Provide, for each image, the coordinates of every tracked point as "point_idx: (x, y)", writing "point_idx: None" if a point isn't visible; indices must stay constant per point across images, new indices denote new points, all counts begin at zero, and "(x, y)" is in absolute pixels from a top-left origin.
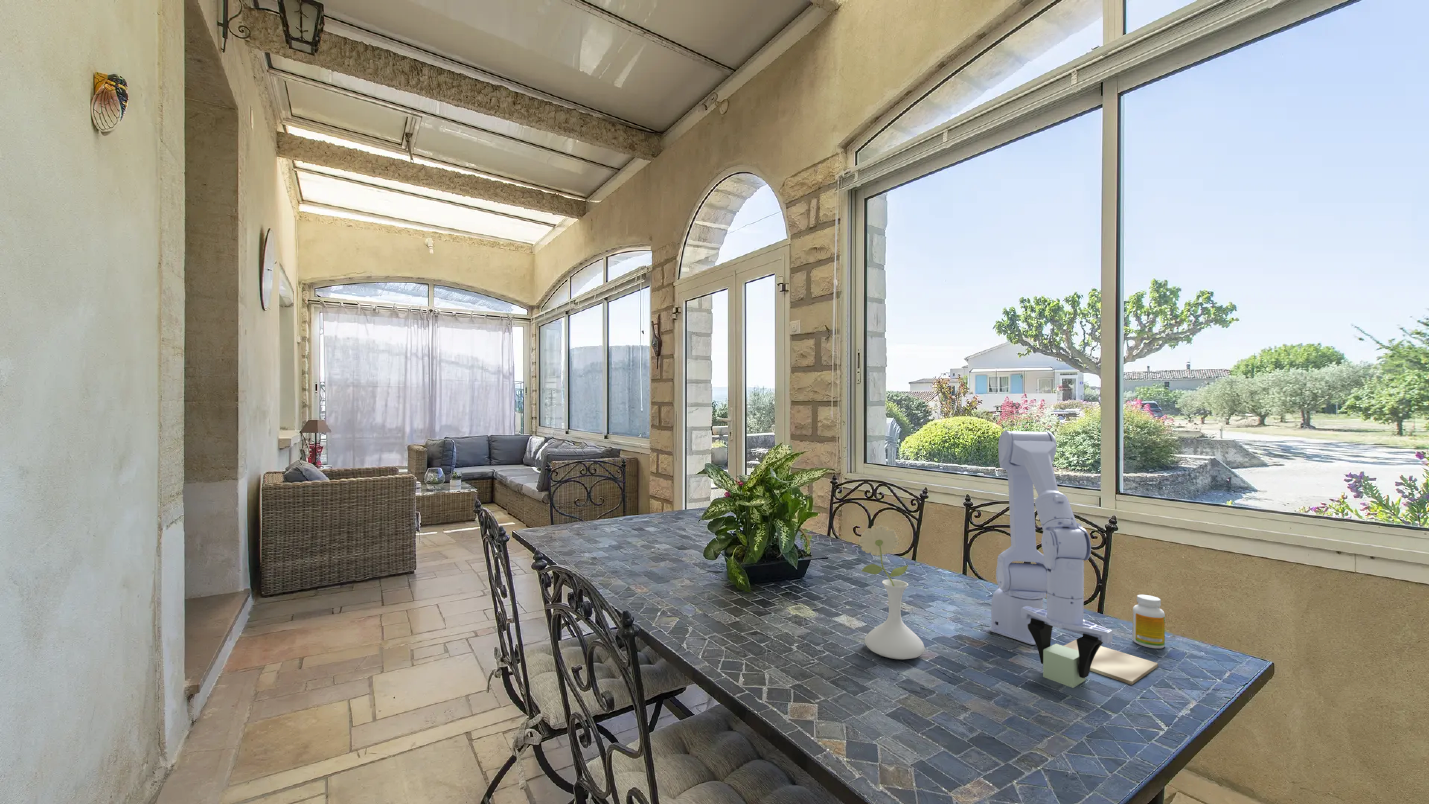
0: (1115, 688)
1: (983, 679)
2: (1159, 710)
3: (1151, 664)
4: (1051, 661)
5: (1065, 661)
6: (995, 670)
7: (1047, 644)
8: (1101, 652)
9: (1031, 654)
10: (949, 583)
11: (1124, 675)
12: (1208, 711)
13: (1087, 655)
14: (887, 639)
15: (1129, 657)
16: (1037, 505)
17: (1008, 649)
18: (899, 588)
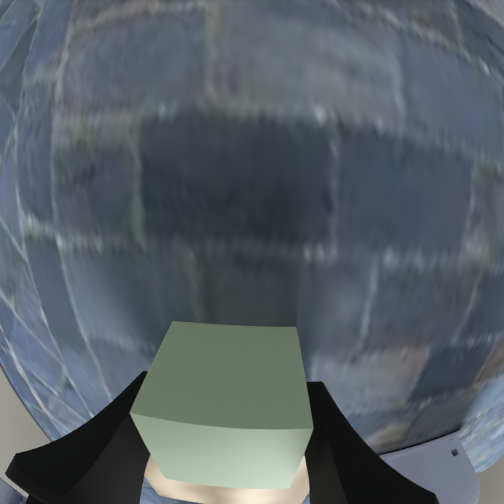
0: None
1: (445, 88)
2: (22, 341)
3: (160, 491)
4: (260, 386)
5: (177, 400)
6: (451, 219)
7: (315, 470)
8: (240, 497)
9: (371, 427)
10: (482, 467)
11: None
12: (20, 389)
13: (66, 437)
14: None
15: (197, 498)
16: None
17: (429, 403)
18: None
